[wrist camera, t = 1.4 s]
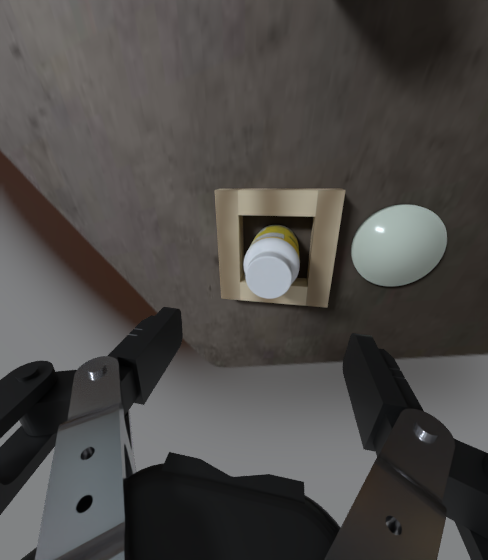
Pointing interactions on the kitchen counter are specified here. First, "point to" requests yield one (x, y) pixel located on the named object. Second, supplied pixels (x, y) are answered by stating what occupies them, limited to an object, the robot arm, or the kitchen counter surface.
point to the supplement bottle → (272, 262)
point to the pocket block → (279, 203)
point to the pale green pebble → (398, 245)
